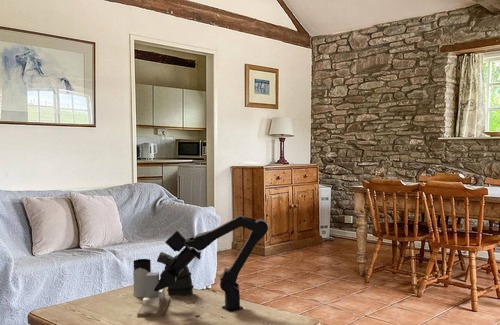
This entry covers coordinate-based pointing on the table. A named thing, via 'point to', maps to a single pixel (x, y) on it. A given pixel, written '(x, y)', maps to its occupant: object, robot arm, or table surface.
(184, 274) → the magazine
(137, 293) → the glass holder
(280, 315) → the table surface
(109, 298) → the table surface
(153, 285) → the block
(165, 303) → the board
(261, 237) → the robot arm
